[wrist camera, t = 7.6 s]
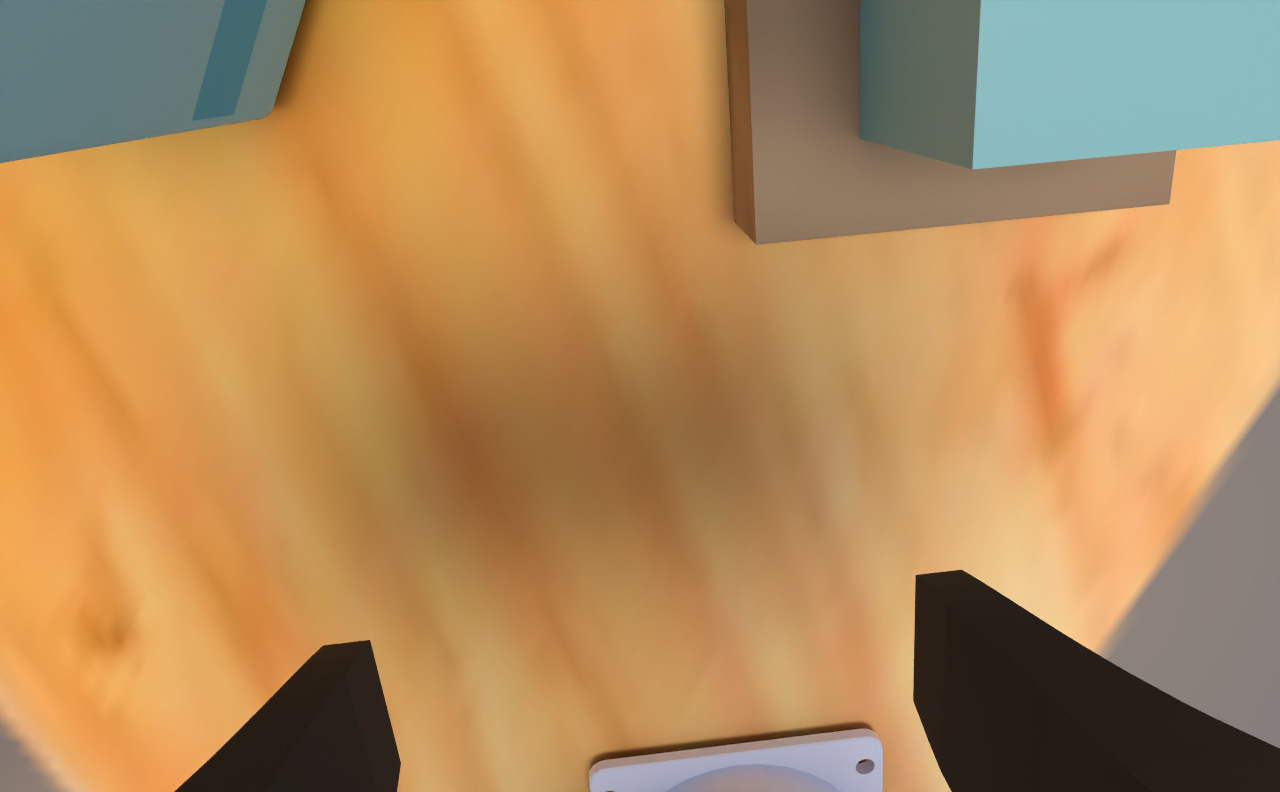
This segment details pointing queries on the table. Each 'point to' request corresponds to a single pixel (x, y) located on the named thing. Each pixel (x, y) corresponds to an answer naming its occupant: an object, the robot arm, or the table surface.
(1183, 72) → the teal block
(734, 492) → the table surface
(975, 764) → the robot arm
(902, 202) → the walnut block
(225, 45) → the data package
